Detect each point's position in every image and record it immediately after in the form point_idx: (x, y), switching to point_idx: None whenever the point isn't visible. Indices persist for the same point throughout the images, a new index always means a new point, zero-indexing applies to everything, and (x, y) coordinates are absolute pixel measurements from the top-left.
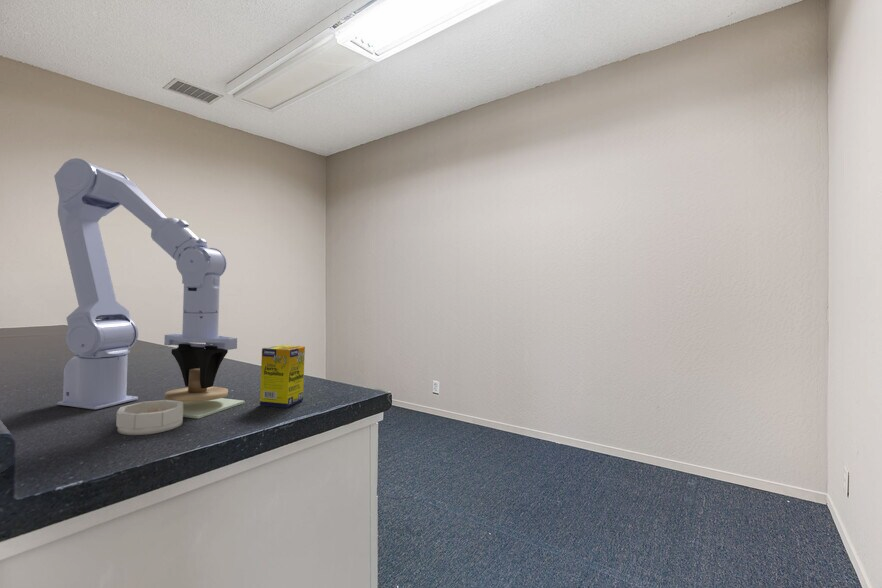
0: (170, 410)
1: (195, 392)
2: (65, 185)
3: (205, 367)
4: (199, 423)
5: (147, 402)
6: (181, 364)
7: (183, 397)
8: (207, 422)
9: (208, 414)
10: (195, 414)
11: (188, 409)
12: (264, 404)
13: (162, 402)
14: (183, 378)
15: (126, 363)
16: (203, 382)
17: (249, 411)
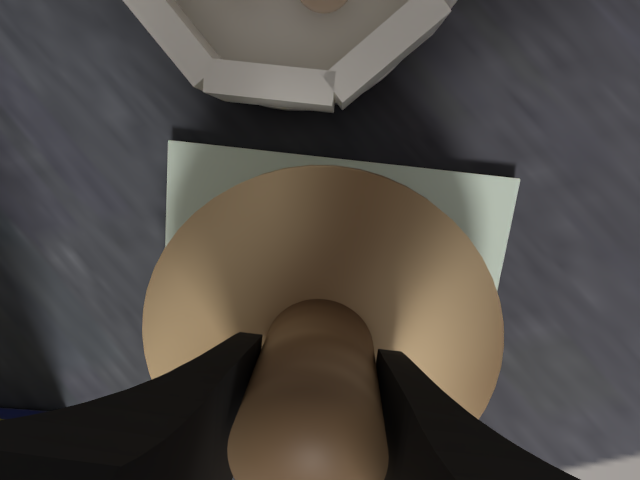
0: None
1: (292, 304)
2: None
3: (130, 390)
4: (110, 74)
5: (405, 4)
6: (461, 434)
7: (268, 174)
8: (87, 100)
9: (168, 206)
10: (205, 165)
11: None
12: (33, 411)
13: (335, 66)
14: (420, 371)
15: None
16: (223, 341)
17: (40, 313)
